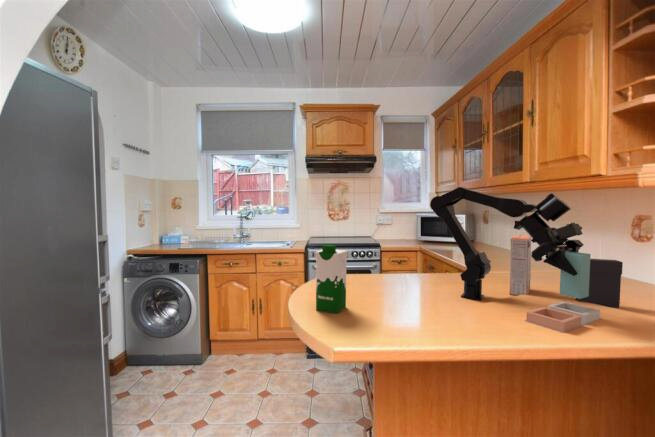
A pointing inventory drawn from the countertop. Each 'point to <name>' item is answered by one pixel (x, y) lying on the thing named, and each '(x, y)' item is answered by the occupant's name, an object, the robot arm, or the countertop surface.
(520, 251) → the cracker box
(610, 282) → the black box
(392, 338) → the countertop surface
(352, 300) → the countertop surface
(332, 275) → the milk carton
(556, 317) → the organiser
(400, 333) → the countertop surface
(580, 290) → the plug
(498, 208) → the robot arm
